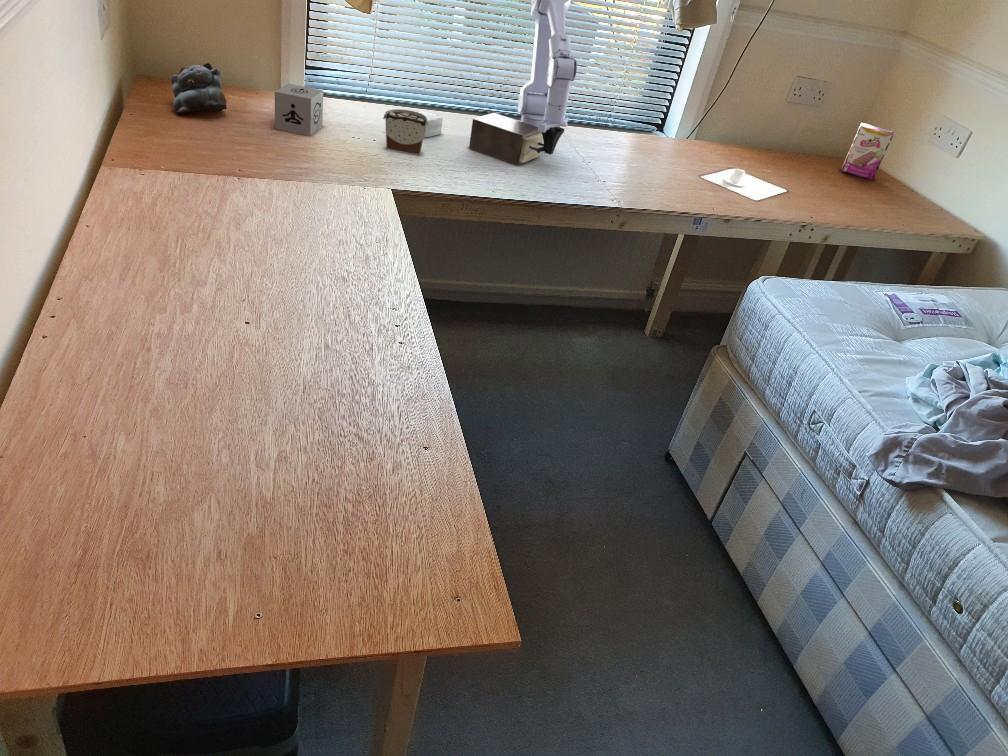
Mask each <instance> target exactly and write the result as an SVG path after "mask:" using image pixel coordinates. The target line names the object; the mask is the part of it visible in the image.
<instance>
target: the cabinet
mask: <svg viewBox="0 0 1008 756" xmlns="http://www.w3.org/2000/svg"><path fill="white" fill-rule="evenodd" d="M470 130H471V131H470V137H469V145H468V149H470V150H473V151H475V152H478V153H480V154H484V155H487V156H490V157H492V158H495V159H498V160H501V161H504V162H507V163H509V164H512V165H515V166H520V165H523V164H524V163H526V162H524V163H521V162H519V160H520V154H521V149H522V143H523V138H524V137H527V136H530V135H532V134H537V133H539V132H541V131H538V127H536V126H533V125H530V124H527V123H524V122H521V120H517V119H514V118H512V117H508V116H505V115H502V114H499V113H496V112H491V113H488V114H485V115H481V116H478V117H477V116H476V117H474V118H472V121H471V129H470ZM537 158H538V157H536V158H535V159H537Z"/></svg>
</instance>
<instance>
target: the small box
mask: <svg viewBox="0 0 1008 756" xmlns="http://www.w3.org/2000/svg"><path fill="white" fill-rule="evenodd" d="M417 112H418V113H420V114H423V115H424V116H426V117H427V120H428V128H427V124H426V128H425V133H424V138H423V139H425V138H429V137H433V136H437V135H442V131H443V130H442V128H443V119H444V118H443V117H442V116H440V115H438V114H436V113H435V114H434V113H431V112H429V111H426V110H419V111H417Z"/></svg>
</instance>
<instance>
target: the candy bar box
mask: <svg viewBox="0 0 1008 756" xmlns="http://www.w3.org/2000/svg"><path fill="white" fill-rule="evenodd" d="M894 133H895V131H893V130H889V129H886V128H882V127H879V126H875V125H871V124H868V123H863V122H860V125H859V126H858V129H857V132H856V134H855V136H854V139H853V141H852V143H851V146H850V147H849V151H848V152H847V155H846V157H845V159H844V161H843V164H842V167H841V170H840V172H841V173H845V174H849V175H852V176H855V177H859V178H862V179H867V180H870V181H873V180H874V178H875V176H876V174H877V172H878V170H879V168H880V165H881V163H882V161H883V159H884V157H885V155H886V152H887V150H888V148H889V146H890V143H891V141H892V140H893V137H894Z"/></svg>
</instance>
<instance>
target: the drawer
mask: <svg viewBox="0 0 1008 756" xmlns="http://www.w3.org/2000/svg"><path fill="white" fill-rule="evenodd" d="M542 141H543V136H542V133H541V132H539V133H537V134H532V135H530V136H527V137H526V138H523V143H522V149H521V154H520V160H519V162H521V163H522V164H524V162H525V163H527V162H529V161H531V160H534V159H537V158H539V157H540V156H541V153H543V152H544V144H543V143H542ZM536 157H537V158H536Z"/></svg>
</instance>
